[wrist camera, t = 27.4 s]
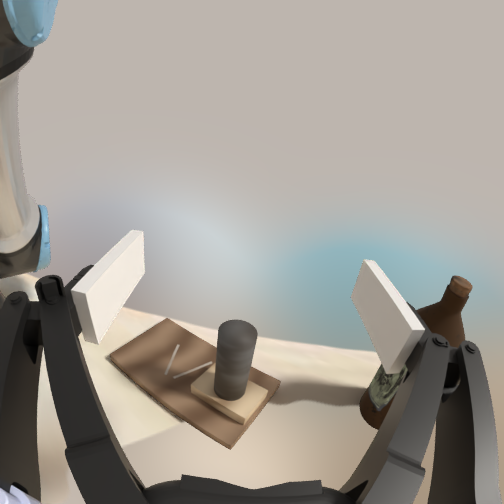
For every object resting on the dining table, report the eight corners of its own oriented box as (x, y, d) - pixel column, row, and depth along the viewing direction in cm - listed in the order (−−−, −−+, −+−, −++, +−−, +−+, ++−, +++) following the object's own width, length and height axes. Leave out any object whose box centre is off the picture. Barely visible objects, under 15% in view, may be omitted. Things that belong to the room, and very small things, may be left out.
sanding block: (191, 392, 35) (189, 326, 29) (215, 369, 40) (221, 304, 34) (243, 425, 31) (258, 366, 26) (265, 398, 36) (285, 335, 30)
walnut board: (111, 360, 38) (109, 354, 38) (167, 323, 50) (167, 317, 49) (230, 449, 28) (231, 445, 28) (278, 386, 40) (280, 380, 39)
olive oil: (401, 386, 40) (468, 267, 30) (415, 431, 30) (508, 308, 20) (351, 386, 40) (414, 255, 30) (359, 436, 31) (453, 301, 20)
